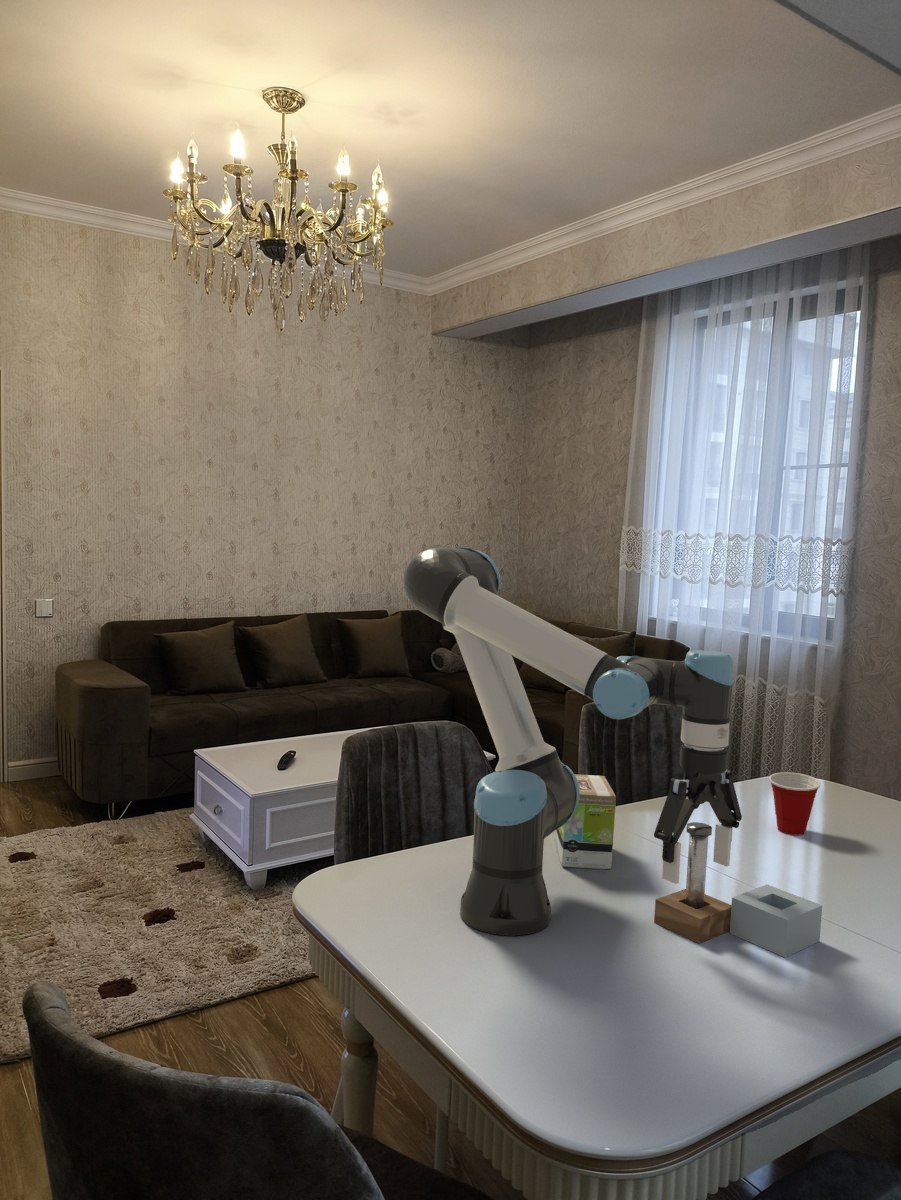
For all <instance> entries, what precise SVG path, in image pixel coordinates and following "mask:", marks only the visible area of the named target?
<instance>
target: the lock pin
mask: <svg viewBox="0 0 901 1200" xmlns="http://www.w3.org/2000/svg"><path fill="white" fill-rule="evenodd" d="M686 833H687V834H689V837H688V851H687V865H686V866H687V868H686V869H687V870H686V880H685V881H686V885H685V889H686V897H685V905H688V906H690V907H692V908H695V909H700V908H702V907H704V895H705V894H706V893H705V892H706V890H705V889H706V877H707V864H708V863H707V860H708V859H707V858H708V847H709V846H708V845H709V837H710V836H712V834H713V827H712V825H710V824H707V823H703V822H699V821H698V822H695V821H694V822H693V821H692V822H687V824H686Z"/></svg>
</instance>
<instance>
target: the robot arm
mask: <svg viewBox="0 0 901 1200" xmlns="http://www.w3.org/2000/svg"><path fill="white" fill-rule="evenodd" d="M501 582H502V581H501V575H500V572H499V569H498V566H497V565H496V563H495V562H494V560H493V559H492V558H491V557H490V556H489V555H488V554H487V553H484V552H483V551H480V550H477V549H474V548H471V547H464V546H463V547H459V546H458V547H456V548H455V547H454V548H453V547H452V548H448V547H447V548H446V547H445V548H442V547H435V548H433V547H432V548H429V549H426V550H423V551H421V552H420V553H417V554H416V555H415V556H414V557H412V559H411V560H410V562H409V563H408V564H407V566H406V568H405V572H404V575H403V588H404V592H405V596H406V597H407V599H408V601H409V602H410V603H411V604H412V605H413V607H415V608H416V609H417V610H418V611H420V612H421V613H422V614H424V615H426V616H428V617H430V618H431V619H433V620H434V621H437V622H439V623H440V624H441V626H442V628H443V630H445V631H447V632H449V633H452V634H453V635H454V637H455V640H456V642H457V645H458V648H459V650H460V651H459V652H460V653H461V656H462V659H463V662H464V665H465V667H466V670H467V672H468V675H469V678H470V680H471V683H472V685H473V686H472V687H473V688H474V692H475V694H476V697H477V700H478V702H479V704H480V707H481V711H482V715H483V716H484V719H485V721H486V724H487V726H488V730H489V733H490V735H491V738H492V740H493V743H494V747H495V748H496V752H497V754H498V758H499V759H498V762H497V764H496V767H495V769H494V770H495V771H493V772H491V773H489V774H487V775H485V776H483V777H482V778H480V780H479V782H478V783H477V786H476V788H475V789H476V790H475V798H474V800H473V809H474V816H473V817H474V819H473V820H474V821H473V845H472V846H473V848H472V868H471V871H470V873H469V874H470V875H469V878H468V880H467V884H466V887H465V891H464V892H463V893H462V895H461V898H460V904H459V906H460V907H459V911H460V912H459V915H460V918H461V920H462V921H463V922H464V923H465V924H467V925H468V926H469V927H472V928H474V929H475V930H477V931H478V930H479V931H481V932H483V933H488V934H493V935H499V936H524V935H525V936H526V935H530V934H534V933H538V932H540V931H542V930H544V929H545V928H546V927H548V926H549V924H550V922H551V918H552V917H551V915H552V914H551V912H552V910H551V909H552V905H551V901H550V899H549V896H548V890H547V888H546V884H545V879H544V875H543V864H544V863H543V861H544V842H545V841H544V840H545V839H546V838H547V837H549V836H550V835H551V834H553V833H555V830H556V829H558V828H560V827H561V826H563V825H564V824H565V823H566V822H567V821H568V820H569V819H570V818H571V816H572V815H573V813H574V812H575V810H576V808H577V806H578V803H579V798H580V789H579V784H578V781H577V778H576V776H575V773H574V772H573V770H572V769H571V768H570V767H569V766H568V765H566V764H564V763H563V762H562V761H561V760H560V756H559V754H558V751H557V749H556V747H555V746H553V745H550V744H549V743H546V742H545V741H544V737H543V735H542V733H541V731H540V727H539V724H538V722H537V719H536V716H535V714H534V712H533V709H532V706H531V703H530V700H529V698H528V694H527V692H526V690H525V687H524V684H523V681H522V680H521V676H520V674H519V671H518V669H517V666H516V664H515V661H514V660H515V659H514V658H516V659H518V660H520V661H522V662H523V663H525V664H527V665H528V666H531V668H534V669H536V670H537V671H540V672H541V673H543V674H545V675H547V676H548V677H550V678H552V679H554V680H556V681H558V682H559V683H561V684H563V685H565V686H567V687H569V688H570V689H572V690H574V691H576V692H577V693H579V694H581V695H583V696H585V697H586V698H588V699H590V700H592V701H593V702H594V704H595V706H596V708H597V709H598V711H599V712H600V713H601V714H603V715H604V716H606V717H607V718H610V719H612V720H625V719H627V718H628V719H629V718H632V717H635V716H637V715H638V714H640V713H641V712H643V710H644V709H647V708H648V707H650V706H651V705H661V706H662V705H663V706H671V707H677V708H678V707H681V708H682V718H681V730H680V741H681V742H682V743H683V744H682V745H680V751H679V766H680V768H682V769H683V771H684V774H683V778H682V779H678V778H674V777H672V778H671V779H670V781H669V788H668V792H667V793H668V794H667V796H666V799H665V802H664V805H663V807H662V810H661V813H660V816H659V818H658V820H657V823H656V826H655V829H654V833H653V837H654V838H655V839H658V840H660V841H662V856H661V859H662V874H661V875H662V876H661V878H662V879H663V880H666V881H668V882H670V883H673V884H675V885H676V884H679V883H680V867H681V853H682V852H681V848H682V842H679V839H680V837H681V835H682V834H683V832H684V830H685V828H686V827H687V824H688V823H689V821H690V819H691V817H692V815H693V813H694V811H695V810H696V809H698V808H699V807H700V805H703V804H705V803H709V805H710V807H711V809H712V811H713V813H714V814H715V817H716V818H717V820H718V822H719V823H715V828H714V847H713V859H712V860H713V861H712V862H713V863H717V864H720V865H722V866H724V867H729V866H730V862H731V850H732V849H731V848H732V846H731V845H732V841H733V840H732V839H733V838H732V837H733V828H735V829H738V828H739V827H740V822H741V820H742V818H743V815H742V811H741V807H740V804H739V801H738V796H737V793H736V791H737V790H736V788H735V784H734V771H733V770H731V769H728V762H729V761H728V760H729V759H728V757H729V750H727V749H728V748H726V747H728V746H729V738H730V723H731V713H732V712H731V711H732V698H733V689H734V688H733V687H734V679H733V678H734V677H733V674H734V673H733V672H734V670H733V669H734V665H733V663H734V661H733V658H732V656H731V655H730V654H728V653H726V652H722V651H717V650H716V651H715V650H705V649H703V650H701V649H694V650H693V649H692V650H689V651H688V652H687V653H686V655H685V659H684V660H681V661H680V660H667V659H661V658H651V657H643V656H639V655H632V656H628V655H620V656H617V657H614V656H612V655H610V654H608V653H606V652H605V651H603V650H601V649H599V648H597V647H595V646H593V645H592V644H589V643H587V642H586V641H584V640H582V639H581V638H578V637H577V636H574V635H572V634H571V633H569V632H567V631H565V630H563V629H561V628H560V627H558V626H556V625H554V624H552V623H550V622H549V621H547V620H544V619H542V618H541V617H539V616H537V615H535V614H533V613H531V612H529V611H528V610H525V609H523V608H521V607H520V606H519V605H515V604H514V603H512V602H510V601H509V600H506V599H504V598H503V597H501V596H499V592H500V588H501Z"/></svg>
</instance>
